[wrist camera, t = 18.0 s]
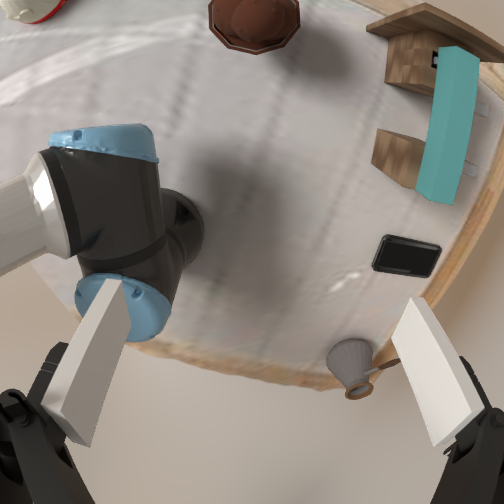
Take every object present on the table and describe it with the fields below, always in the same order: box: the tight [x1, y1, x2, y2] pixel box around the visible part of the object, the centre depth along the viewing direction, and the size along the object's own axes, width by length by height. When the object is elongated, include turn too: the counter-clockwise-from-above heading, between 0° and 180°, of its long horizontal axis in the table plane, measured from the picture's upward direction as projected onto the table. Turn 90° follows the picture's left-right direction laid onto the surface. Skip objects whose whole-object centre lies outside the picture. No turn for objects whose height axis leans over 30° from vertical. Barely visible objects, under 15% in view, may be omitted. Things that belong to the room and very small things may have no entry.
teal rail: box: [415, 46, 480, 205], centre depth 31 cm, size 20×4×9 cm, turn 175°
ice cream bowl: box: [208, 0, 300, 55], centre depth 28 cm, size 11×11×15 cm
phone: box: [372, 234, 442, 278], centre depth 55 cm, size 8×1×15 cm
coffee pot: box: [326, 339, 401, 400], centre depth 59 cm, size 21×12×15 cm, turn 154°
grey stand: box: [462, 100, 490, 177], centre depth 39 cm, size 13×5×6 cm, turn 175°
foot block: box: [371, 129, 426, 189], centre depth 39 cm, size 6×8×12 cm
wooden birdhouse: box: [366, 3, 504, 97], centre depth 29 cm, size 9×16×18 cm, turn 85°
